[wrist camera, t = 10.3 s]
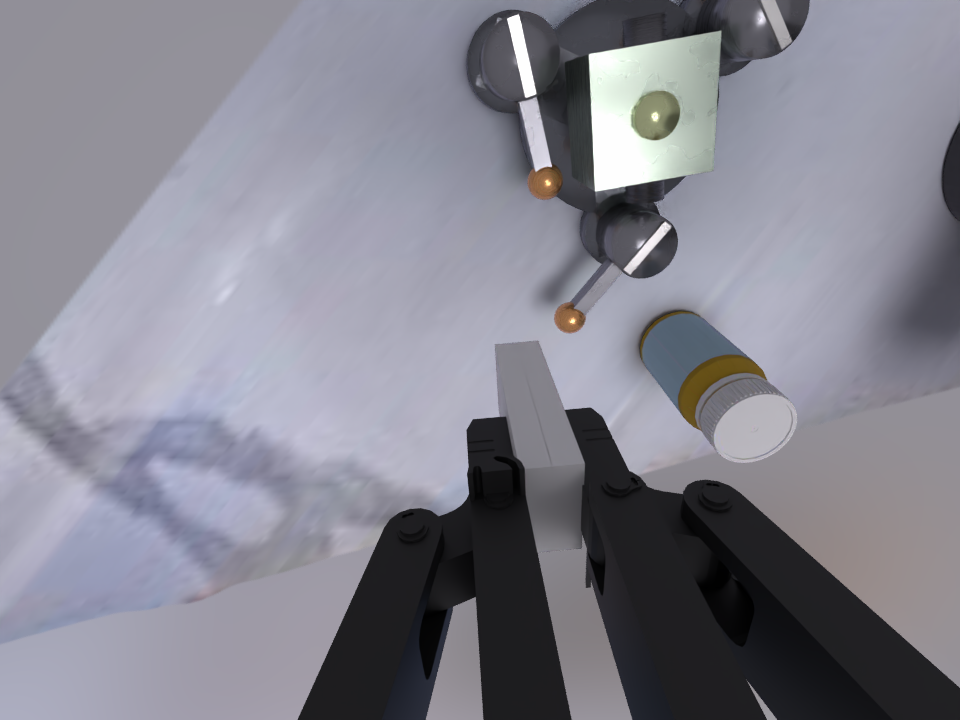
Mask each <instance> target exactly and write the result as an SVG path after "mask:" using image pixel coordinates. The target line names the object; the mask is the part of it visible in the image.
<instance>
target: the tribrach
mask: <svg viewBox="0 0 960 720" xmlns="http://www.w3.org/2000/svg"><path fill="white" fill-rule="evenodd" d="M705 1H706V0H683V1H682V3H681V5H680V7H679V6H678V5H676V4H674V3H673V2H671V1H669V0H597V1H594V2H592V3H590V4H588V5H587V6H585V7H583V8H582V9H580V10H578V11H577V12H575V13H574V14H572V15H571V16H570V17H568V18H567V19H566V20H565V21H563V22H562V23H561V24H560V25H559V26H558V27H557V28H556V29H555V30H554V32H555V34H556V37H557V39H558V43H559V49H560V60H559V66H558V70H557V73H556V76H555V78H554V80H553V81H552V83H551V84H550V86H549V87H548V88H547V89H546V90H545V91H544V92H543V93H542V94H540V95H539V96H537V101H538V106H539V111H540V115H541V120H542V124H543V129H544V133H545V138H546V142H547V147H548V151H549V156H550V160H551V163H552V164H554V165H556V166H557V167H558V168H559V169H560V171H561V173H562V176H563V185H562V188H561V190H560V192H559V193H558V194H557V195H556V196H557V197H558V198H560V199H561V200H563V201H564V202H566V203H567V204H569V205H571V206H573V207H575V208H578V209H581V210H584V213H583V216H582V219H581V224H580V235H581V240H582V242H583V245H584V246H585V248H586V249H587V251H588V252H589V253H590V254H591V255H592V256H593V257H594V258H595V259H596V260H597V261H598V262H600V263H601V264H603V262H604V261H605V260H606V259H607V258H608V257H607V256H606V255H605V254H604V253H603V252H602V251H601V250H600V249H599V247H598V245H597V242H596V228H597V225H598V222H599V220H600V218H601V217H602V215H603V214H604V213H605V212H606V211H607V210H608V209H609V208H611V207H612V206H614V205H616V204H619V203H623V202H627V203H631V204H639V205H641V206H643V207H645V208H647V209H649V210H650V211H652V212H654V213H656V214H658V215H660V214H659V211H658V209H657V207H656V205H655V204H654V203H653V202H656V201H660V200H662V199H663V198H664V195H665V194H667V193H668V192H669V191H671V190H672V189H673V188H674V187H675V186H676V185H678V184H679V183H680V182H681V181H682V179H683V178H684V177H685V176H687V175H693V174H699V173H704V172H710V171H713V167H714V150H715V132H716V115H717V107H718V99H719V76H726V75H730V74H732V73H735V72H737V71H738V70H740V69H742V68H743V67H745V66H746V65H747V64H748V63H749V62H750V61H751V60H748V61H741V62H733V63H725V64H720V47H721V31H717V32H711V33H705V34H700V35H695V26H696V21H697V17H698V14H699V12H700V9H701V8H702V6H703V4H704V3H705ZM516 12H524V11H519V10H506V11H502V12H499V13H497V14H494V15H493V16H491V17H490V18H488V19H487V20H486V21H485V22H484V23H483V24H482V25H481V26H480V27H479V29H478V30H477V31H476V33H475V35H474V37H473V39H472V41H471V44H470V46H469V50H468V54H467V75H468V79H469V82H470V85H471V87H472V89H473V91H474V93H475V94H476V96H477V97H478V98H479V100H480V101H481V102H483V103H484V104H485V105H486V106H488V107H489V108H491V109H493V110H496V111H500V112H505V113H517V112H519V110H518V106H517V102H519V101H506V100H502V99H499V98H498V97H496V96H494V95H493V94H492V93H491V92H490V91H489V90H488V89H487V88H486V86H485V85H484V83H483V81H482V78H481V75H480V71H479V55H480V51H481V48H482V45H483V43H484V41H485V40H486V38H487V36H488V35H489V33H490V32H491V30H492V29H493V27H494V26H495V25H496V24H497V23H498V22H499V21H500V20H501V19H502V18H504V17H506V16H507V15H510V14H512V13H516ZM519 125H520V134H521V140H522V144H523V147H524V151H525V154H526V156H527V159H528V161H529V163H530V165H531V167H532V164H531V160H530V156H529V152H528V148H527V143H526V139H525V135H524V131H523V127H522V122H521V118H520V114H519ZM532 169H533V168H532ZM608 259H609V258H608ZM609 260H610V259H609Z"/></svg>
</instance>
